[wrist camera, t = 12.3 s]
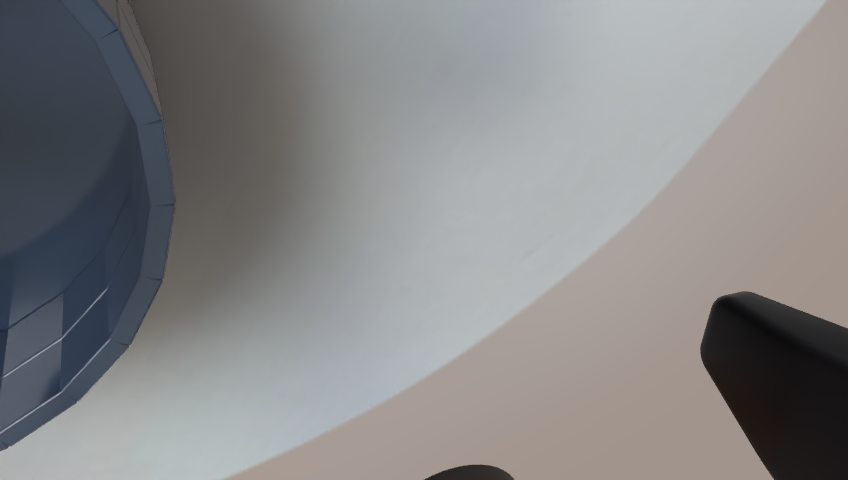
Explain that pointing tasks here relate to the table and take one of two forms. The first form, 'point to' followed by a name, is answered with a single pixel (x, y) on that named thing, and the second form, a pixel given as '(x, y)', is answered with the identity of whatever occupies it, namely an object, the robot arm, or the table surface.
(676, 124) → the table surface
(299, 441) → the table surface
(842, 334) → the robot arm
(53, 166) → the bowl
